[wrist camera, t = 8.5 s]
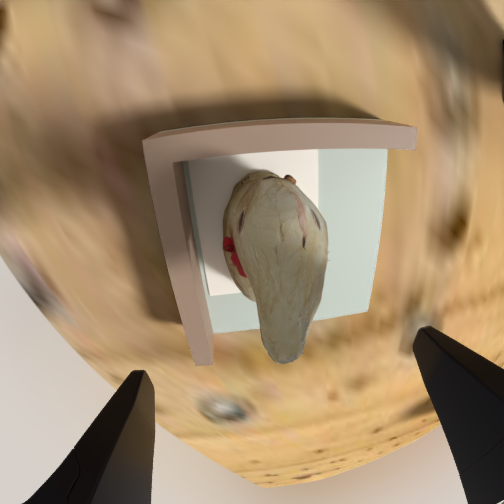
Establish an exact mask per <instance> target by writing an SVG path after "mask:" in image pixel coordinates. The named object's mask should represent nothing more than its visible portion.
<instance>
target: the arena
mask: <svg viewBox="0 0 504 504" xmlns="http://www.w3.org/2000/svg"><path fill="white" fill-rule="evenodd" d="M416 143H417V127H413V126H409V125H404V124H400V123H395V122H391V121H386V120H379V119H361V118H281V119H262V120H248V121H237V122H226V123H217V124H208V125H201V126H193V127H186V128H179V129H173V130H167V131H161V132H158V133H156V134H154V135H152V136H150V137H148V138H146V139H144V140H142V144H143V150H144V156H145V162H146V168H147V174H148V180H149V185H150V191H151V196H152V201H153V206H154V211H155V216H156V220H157V225H158V230H159V234H160V239H161V243H162V247H163V252H164V256H165V260H166V264H167V268H168V272H169V276H170V280H171V284H172V288H173V291H174V295H175V299H176V303H177V306H178V310H179V313H180V317H181V320H182V324H183V327H184V330H185V334H186V337H187V340H188V344H189V347H190V350H191V353H192V356H193V359H194V362H195V366H204V365H214V340H213V333H224V332H233V331H242V330H251V329H259V328H260V324H259V318H258V311H257V304H256V302H254V301H251V300H249V299H248V298H246V297H245V296H244V295H243V294H242V292H241V291H240V290H239V289H238V287H237V286H236V284H235V283H234V281H233V279H232V277H231V275H230V272H229V270H228V267H227V264H226V261H225V257H224V253H223V248H222V247H223V216H224V211H225V209H226V207H227V205H228V203H229V200H230V198H231V195H232V192H233V188H234V186H235V185H236V184H237V183H238V182H240V180H241V179H242V178H244V177H245V176H246V175H247V174H250V173H255V172H259V171H260V172H268V173H269V172H272V173H275V174H277V175H278V176H279V177H281V178H284V176H285V175H291V176H292V177H293V178H294V179H295V180H296V184H295V185H296V186H298V187H299V189H300V190H301V191H302V192H303V193H304V194H305V195H306V196H307V197H308V198H309V199H310V200H311V201H312V202H313V203H314V204H315V206H316V207H317V209H318V210H319V212H320V213H321V215H322V216H323V218H324V220H325V221H326V224H327V230H328V241H329V243H328V246H329V247H328V252H329V253H328V260H330V261H328V262H327V267H326V272H325V278H324V286H323V291H322V298H321V302H320V305H319V307H318V309H317V312H316V314H315V316H314V318H313V321H316V320H322V319H328V318H334V317H339V316H345V315H350V314H356V313H361V312H366V311H368V306H369V301H370V296H371V291H372V286H373V280H374V274H375V268H376V262H377V255H378V248H379V241H380V234H381V226H382V217H383V207H384V197H385V184H386V169H387V149H401V150H416ZM329 250H330V251H329Z"/></svg>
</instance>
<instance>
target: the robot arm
mask: <svg viewBox="0 0 504 504" xmlns="http://www.w3.org/2000/svg"><path fill="white" fill-rule="evenodd" d="M503 43H504V40H503ZM413 352H414V355H415V358H416V361H417V363H418V366H419V369H420V372H421V375H422V378H423V381H424V384H425V387H426V389H427V392H428V394H429V396H430V399H431V401H432V403H433V406H434V408H435V410H436V413H437V415H438V418H439V420H440V423H441V425H442V428H443V430H444V433H445V435H446V438H447V441H448V443H449V446H450V449H451V452H452V454H453V457H454V460H455V463H456V466H457V469H458V471H459V474H460V475H459V476H460V479H461V482H462V485H463V488H464V491H465V495H466V498H467V502H468V504H497V503H499V502H501V501H502V500H504V369H502V368H501V367H499V366H497V365H496V364H494V363H492V362H491V361H489V360H488V359H486V358H484V357H483V356H481V355H479V354H477V353H476V352H474V351H472V350H471V349H469V348H467V347H466V346H464V345H462V344H461V343H459V342H457V341H456V340H454V339H452V338H450V337H449V336H447V335H445V334H444V333H442V332H440V331H438V330H437V329H435V328H433V327H431V326H425V327H422V328H420V329H419V330H418V332H417V335H416V337H415V340H414V343H413ZM154 443H155V392H154V386H153V384H152V382H151V380H150V378H149V376H148V374H147V372H146V371H145V370H133V371H132V372H131V373H130V374H129V375H128V377H127V378H126V379H125V381H124V382H123V383H122V384H121V386H120V387H119V388H118V390H117V391H116V392H115V394H114V395H113V396H112V397H111V399H110V400H109V401H108V403H107V404H106V406H105V407H104V408H103V409H102V411H101V412H100V413H99V414H98V416H97V417H96V418H95V420H94V421H93V423H92V424H91V425H90V427H89V428H88V429H87V431H86V432H85V433H84V435H83V436H82V437H81V438H80V440H79V441H78V442H77V444H76V445H75V447H74V449H72V450H71V452H70V453H69V454H68V456H67V457H66V458H65V460H64V461H63V462H62V464H61V465H60V466H59V467H58V468H57V469H56V471H55V472H54V473H53V474H52V475H51V476H50V477H49V478H48V480H46V482H45V483H44V484H43V485H42V486H41V487H40V488H39V489H38V490H37V491H36V492H35V493H34V494H33V495H32V496H31V497H30V498H29V499H28V500H27V501H25V502H24V503H22V504H151V488H152V470H153V455H154ZM502 504H504V502H503V503H502Z"/></svg>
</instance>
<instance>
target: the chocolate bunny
mask: <svg viewBox="0 0 504 504" xmlns="http://www.w3.org/2000/svg"><path fill="white" fill-rule="evenodd" d="M295 184H296V180H295V179H294V178H293V177H292V176H291V175H285V176H284V178H281V177H279V176H278V175H277V174H275V173H272V172H269V173H268V172H260V171H259V172H255V173H250V174H247V175H246V176H245V177H244V178H242V179H241V180H240V182H238V183H237V184H236V185H235V186H234V188H233V192H232V195H231V198H230V200H229V203H228V205H227V207H226V209H225V211H224V216H223V247H222V248H223V253H224V257H225V261H226V264H227V267H228V270H229V272H230V275H231V277H232V279H233V281H234V283H235V284H236V286H237V287H238V289H239V290H240V291H241V292H242V294H243V295H244V296H245V297H246V298H248V299H249V300H251V301H254V302H256V304H257V311H258V318H259V324H260V331H261V339H262V342H263V345H264V347H265V348H266V350H267V351H268V354H269V355H270V357H271V358H272V360H273V361H274V362H276V363H278V364H285V363H289V362H292V361H295V360H297V359H298V358H299V356H300V355H301V354H302V353H303V350H304V345H305V339H306V336H307V334H308V332H309V330H310V327H311V324H312V321H313V318H314V316H315V314H316V312H317V309H318V307H319V305H320V302H321V298H322V291H323V286H324V278H325V272H326V267H327V262H328V261H330V260H328V253H329V252H328V247H329V246H328V243H329V241H328V230H327V224H326V221H325V220H324V218H323V216H322V215H321V213H320V212H319V210H318V209H317V207H316V206H315V204H314V203H313V202H312V201H311V200H310V199H309V198H308V197H307V196H306V195H305V194H304V193H303V192H302V191H301V190H300V189H299V187H298V186H296V185H295ZM329 251H330V250H329Z"/></svg>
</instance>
